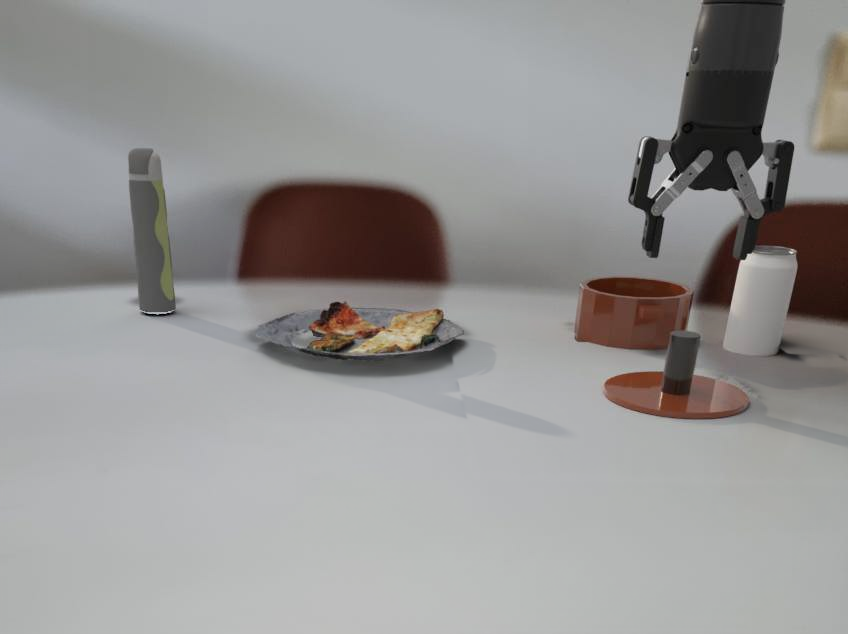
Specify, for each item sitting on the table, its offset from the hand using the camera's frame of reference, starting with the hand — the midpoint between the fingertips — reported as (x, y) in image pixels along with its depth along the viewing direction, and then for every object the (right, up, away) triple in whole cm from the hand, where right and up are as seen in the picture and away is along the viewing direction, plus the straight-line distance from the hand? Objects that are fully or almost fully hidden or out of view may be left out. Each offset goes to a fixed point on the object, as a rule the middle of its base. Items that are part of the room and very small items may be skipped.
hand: (695, 257), depth 95 cm
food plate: (-33, -2, +24) cm, 41 cm away
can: (+15, -2, +24) cm, 29 cm away
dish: (+1, +1, +29) cm, 29 cm away
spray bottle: (-61, +7, +38) cm, 72 cm away
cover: (0, -12, +6) cm, 14 cm away
